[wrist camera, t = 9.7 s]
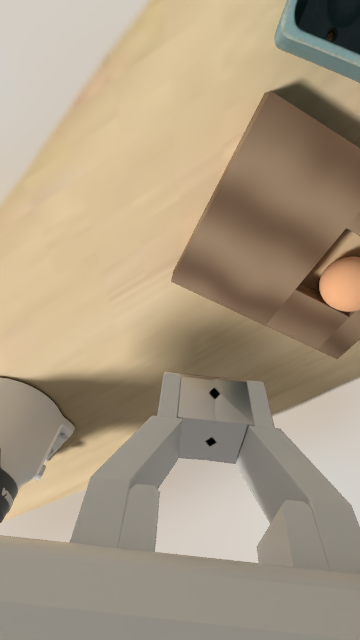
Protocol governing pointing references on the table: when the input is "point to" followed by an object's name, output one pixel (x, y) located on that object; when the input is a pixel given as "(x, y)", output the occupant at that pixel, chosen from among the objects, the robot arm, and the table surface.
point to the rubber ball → (342, 284)
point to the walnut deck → (278, 226)
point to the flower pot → (323, 34)
